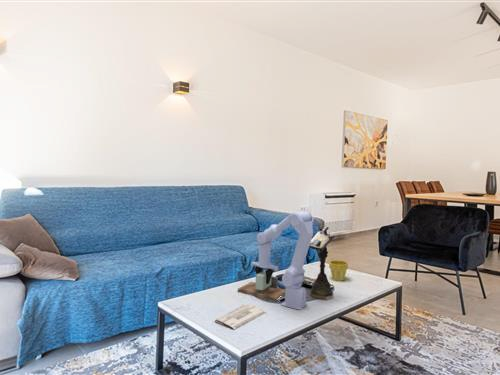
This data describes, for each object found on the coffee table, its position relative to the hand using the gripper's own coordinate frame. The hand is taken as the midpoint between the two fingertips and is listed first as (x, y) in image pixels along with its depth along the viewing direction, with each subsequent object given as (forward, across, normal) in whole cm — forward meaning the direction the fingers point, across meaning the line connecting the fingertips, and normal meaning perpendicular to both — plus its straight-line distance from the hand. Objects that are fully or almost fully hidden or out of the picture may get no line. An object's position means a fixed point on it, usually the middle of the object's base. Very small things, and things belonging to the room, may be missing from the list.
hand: (263, 282), depth 180 cm
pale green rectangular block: (+2, 0, 0) cm, 2 cm away
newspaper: (+6, -5, +30) cm, 31 cm away
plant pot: (+6, -24, -44) cm, 50 cm away
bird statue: (+6, -25, -12) cm, 28 cm away
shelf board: (+6, +1, -1) cm, 6 cm away
